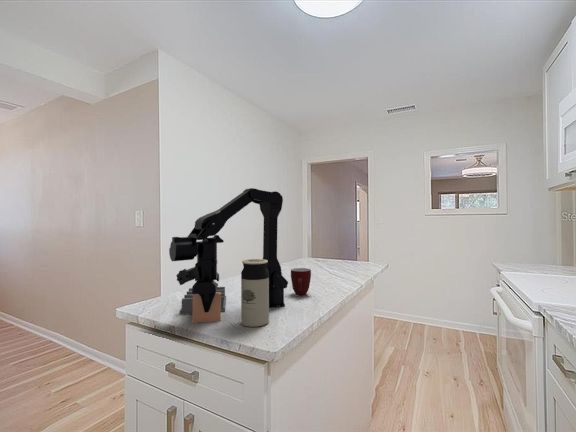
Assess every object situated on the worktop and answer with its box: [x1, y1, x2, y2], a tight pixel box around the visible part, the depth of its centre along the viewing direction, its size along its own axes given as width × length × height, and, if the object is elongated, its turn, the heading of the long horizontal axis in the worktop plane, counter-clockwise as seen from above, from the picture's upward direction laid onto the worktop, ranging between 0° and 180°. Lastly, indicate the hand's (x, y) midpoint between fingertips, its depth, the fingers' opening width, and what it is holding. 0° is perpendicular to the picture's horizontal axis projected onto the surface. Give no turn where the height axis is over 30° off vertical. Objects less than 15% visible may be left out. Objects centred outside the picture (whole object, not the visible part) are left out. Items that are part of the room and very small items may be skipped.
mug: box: [290, 267, 312, 297], centre depth 114 cm, size 11×8×10 cm
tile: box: [192, 292, 222, 323], centre depth 87 cm, size 8×2×8 cm, turn 100°
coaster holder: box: [179, 286, 227, 315], centre depth 101 cm, size 14×16×5 cm
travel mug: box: [240, 258, 270, 328], centre depth 84 cm, size 8×8×18 cm
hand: (207, 310), depth 87 cm, fingers open, 3 cm apart
